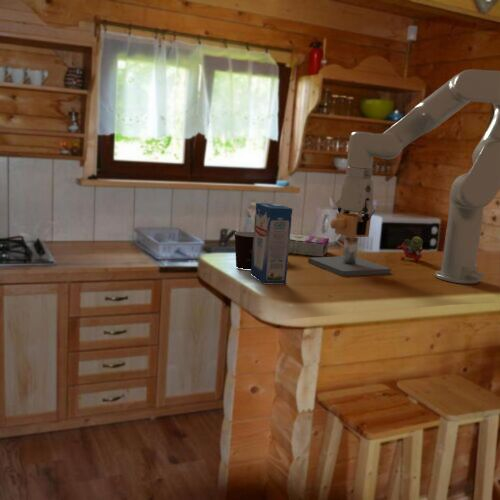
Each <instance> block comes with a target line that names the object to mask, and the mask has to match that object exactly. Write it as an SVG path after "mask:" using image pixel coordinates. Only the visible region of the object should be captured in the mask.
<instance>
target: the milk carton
mask: <svg viewBox="0 0 500 500" xmlns="http://www.w3.org/2000/svg"><path fill="white" fill-rule="evenodd" d="M254 215H255V216H254V227H253V228H254V229H253V232H254V239H253V252H252V266H251V271H250V275H251V274H252V275H253V276H255V277H256V278H257V279H259V280H260V281H261V282H263V283H287V276H288V275H287V274H288V265H289V264H288V262H289V254H290V253H289V242H290V234H291V227H292V217H293V208H291V207H288V206H284V205H283V204H279V203H267V202H266V203H261V202H257V203H256V202H255V214H254ZM253 276H252V277H253ZM256 278H255V279H256ZM257 279H256V280H257ZM260 281H259V282H260ZM261 282H260V283H261ZM263 283H262V284H263Z"/></svg>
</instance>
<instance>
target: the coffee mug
mask: <svg viewBox="0 0 500 500" xmlns="http://www.w3.org/2000/svg"><path fill="white" fill-rule="evenodd" d="M253 239H254V231H235V232H234V246H235V247H234V249H235V250H234V251H235V268H236V267H238V268H243V269H251V266H252V252H253Z"/></svg>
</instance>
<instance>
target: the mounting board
mask: <svg viewBox="0 0 500 500" xmlns="http://www.w3.org/2000/svg"><path fill="white" fill-rule="evenodd" d="M342 261H343V256H327V257H326V256H323V257H318V256H315V257H308V259H307V263H308V264H311V265H313V266H316V267H318V268H320V269H323V270H326V271H328V272H331V273H333V274H335V275H338V276H341V277H353V276H356V277H357V276H368V275H369V276H372V275H388V274H389V275H390V274H391V272H392V268H389V267H387V266H384V265H381V264H378V263H376V262H373V261H370V260H367V259H364V258H361V257H358V256H356V264H354V265H349V264H344V263H342Z"/></svg>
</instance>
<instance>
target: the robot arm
mask: <svg viewBox="0 0 500 500" xmlns="http://www.w3.org/2000/svg"><path fill="white" fill-rule="evenodd" d="M470 102H474V103H475V102H476V103H489V104H492V105H493V109H494V113H493V117H492V119H491V121H490V124H489V125H488V128H487V129H486V131H485V132H484V134H483V136H482V138H481V139H480V141H479V142H478V144H477V145H476V147H475V148H474V150H473V152H472V158H471V159H472V166H471V168H470V169H469V171H468V172H467V173H463V174H460V175H459V176H457V177H456V178H455V179H454V181H453V182H452V184H451V187H450V190H449V191H450V193H449V206H448V207H449V208H448V218H447V226H446V230H445V237H444V238H445V239H444V244H443V245H444V246H443V251H442V252H443V253H442V260H441V265H440V266H441V267H440V270H437V271H435V272H434V277H435V278H437V279H440V280H441V281H447V282H449V283H457V284H464V285H465V284H466V285H467V284H468V285H472V284H473V285H474V284H477V283H480V281H481V280H482V279H484V277H485V273H482V272H478V271H479V267H477V258H478V251H479V245H480V239H481V232H482V227H483V219H484V217H483V216H484V208H485V207H487V206H489V205H490V204H491V203H492V201H493V200H494V199H495V197H496V196H497V194H498V193H499V191H500V70H491V69H490V70H489V69H488V70H487V69H472V68H471V69H465V70H463V71H461V72H459V73H458V74H456V75H454V76H453V77H452V78H450V79H448V81H447V82H446V83H443V85H442V86H440V87H439V88H437V89H436V90H435V91H434V92H433V93H431V94H430V95H429V96H427V97H426V98H425V99H423V100H422V101H420V102H419V103H418V104H416V106H415V107H414V108H412V109H411V110H410V111H409V112H408V113H407V114H406V115H404V117H402V118H401V119H400V120H398V121H397V122H396V123H395V124H393V125H391V127H389V128H388V129H387V130H385V131H384V132H383V133H372V132H366V131H352V132H351V134H350V135H349V141H348V142H349V143H348V151H347V152H348V153H347V160H346V169H345V177H344V179H343V183H342V185H341V186H342V187H341V191H340V192H341V193H340V199H338V201H336V203H335V205H336V208H337V212H338V214H342V213H343V214H344V213H351V212H352V213H355V214H358V217H359V221H360V222H358V225H357V233H356V234H357V235H365V234H366V226H367V222H368V221H369V219H370V218H371V219H372V216H373V215H374V214H375V212H376V209H375V208H374V206H373V204H374V182H373V179H372V176H373V164H374V157H375V158H380V159H383V160H393V159H395V158H397V157H398V156H399V155H400V154H401V152H402V150H403V149H404V148H406V147H407V146H409V145H410V144H411V143H412V142H414V141H416V139H418V138H420V137H421V136H423V135H424V134H427V133H429V132H431V131H433V130H434V129H436V128H438V127H439V126H441V125H442V124H443V123H444V122H446V121H447V120H448V119H449V118H451V117H452V116H454V115H455V114H456V113H457V112H459V111H460V110H462V109H463V108H464V107H466V106H467V105H468V104H469V103H470ZM362 215H364V216H362Z"/></svg>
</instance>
